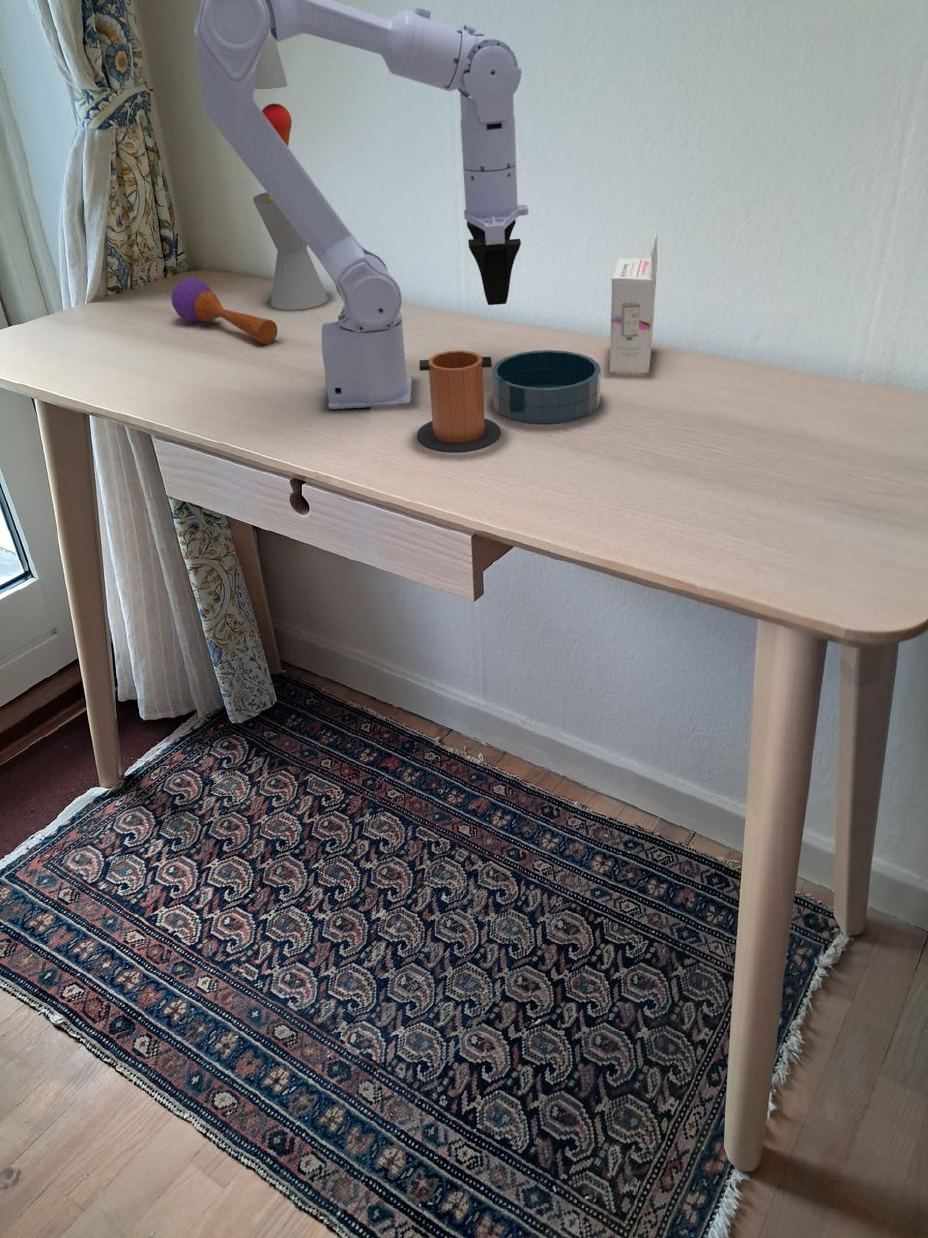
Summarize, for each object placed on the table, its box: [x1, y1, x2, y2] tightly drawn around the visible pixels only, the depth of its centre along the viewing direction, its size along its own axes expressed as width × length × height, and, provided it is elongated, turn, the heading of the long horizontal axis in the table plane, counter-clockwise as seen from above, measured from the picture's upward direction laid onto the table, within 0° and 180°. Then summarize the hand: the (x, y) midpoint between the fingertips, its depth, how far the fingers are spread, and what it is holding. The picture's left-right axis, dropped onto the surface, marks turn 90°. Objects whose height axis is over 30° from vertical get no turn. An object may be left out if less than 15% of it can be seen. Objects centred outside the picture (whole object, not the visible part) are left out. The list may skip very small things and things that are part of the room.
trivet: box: [416, 417, 502, 454], centre depth 106 cm, size 9×9×1 cm
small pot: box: [418, 350, 493, 443], centre depth 103 cm, size 7×6×8 cm
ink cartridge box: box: [609, 232, 658, 374], centre depth 117 cm, size 9×5×15 cm, turn 168°
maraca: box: [170, 278, 278, 346], centre depth 138 cm, size 6×6×20 cm
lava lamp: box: [252, 32, 329, 311], centre depth 139 cm, size 9×9×35 cm
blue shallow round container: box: [491, 349, 602, 425], centre depth 111 cm, size 12×12×4 cm
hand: (495, 293), depth 113 cm, fingers open, 7 cm apart
